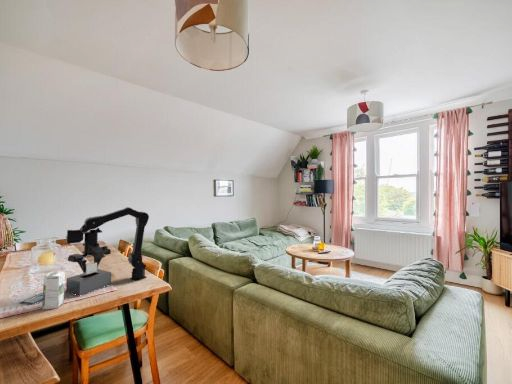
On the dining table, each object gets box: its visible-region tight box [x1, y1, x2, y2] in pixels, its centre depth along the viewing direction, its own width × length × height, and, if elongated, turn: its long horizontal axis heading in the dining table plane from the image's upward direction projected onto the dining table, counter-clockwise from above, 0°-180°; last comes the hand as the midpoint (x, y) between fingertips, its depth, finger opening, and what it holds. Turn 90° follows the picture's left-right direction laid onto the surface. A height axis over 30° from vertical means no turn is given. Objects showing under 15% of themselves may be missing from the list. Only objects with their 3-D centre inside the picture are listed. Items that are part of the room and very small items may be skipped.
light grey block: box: [82, 261, 97, 275], centre depth 125 cm, size 6×2×5 cm, turn 156°
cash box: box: [65, 269, 112, 297], centre depth 125 cm, size 16×11×7 cm
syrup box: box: [41, 271, 66, 311], centre depth 105 cm, size 6×6×14 cm
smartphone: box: [19, 292, 43, 306], centre depth 114 cm, size 7×1×15 cm
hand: (90, 270), depth 125 cm, fingers closed on light grey block, 5 cm apart
